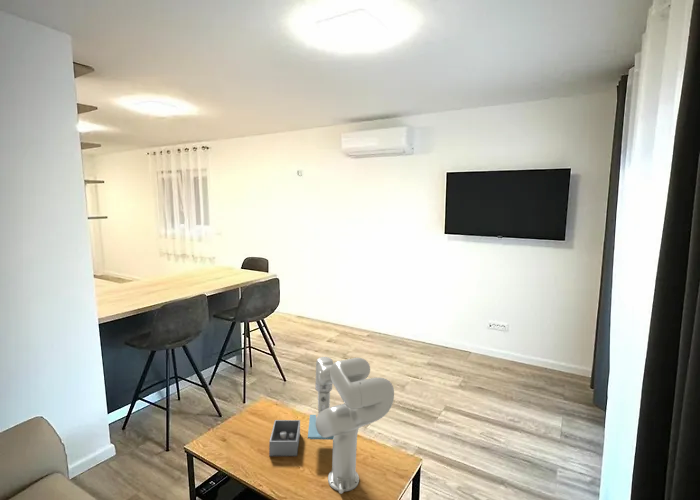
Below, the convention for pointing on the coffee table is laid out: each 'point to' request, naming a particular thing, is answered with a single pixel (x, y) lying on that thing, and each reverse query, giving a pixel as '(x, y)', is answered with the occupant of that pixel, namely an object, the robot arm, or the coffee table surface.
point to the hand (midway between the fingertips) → (322, 423)
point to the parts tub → (284, 438)
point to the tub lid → (315, 430)
